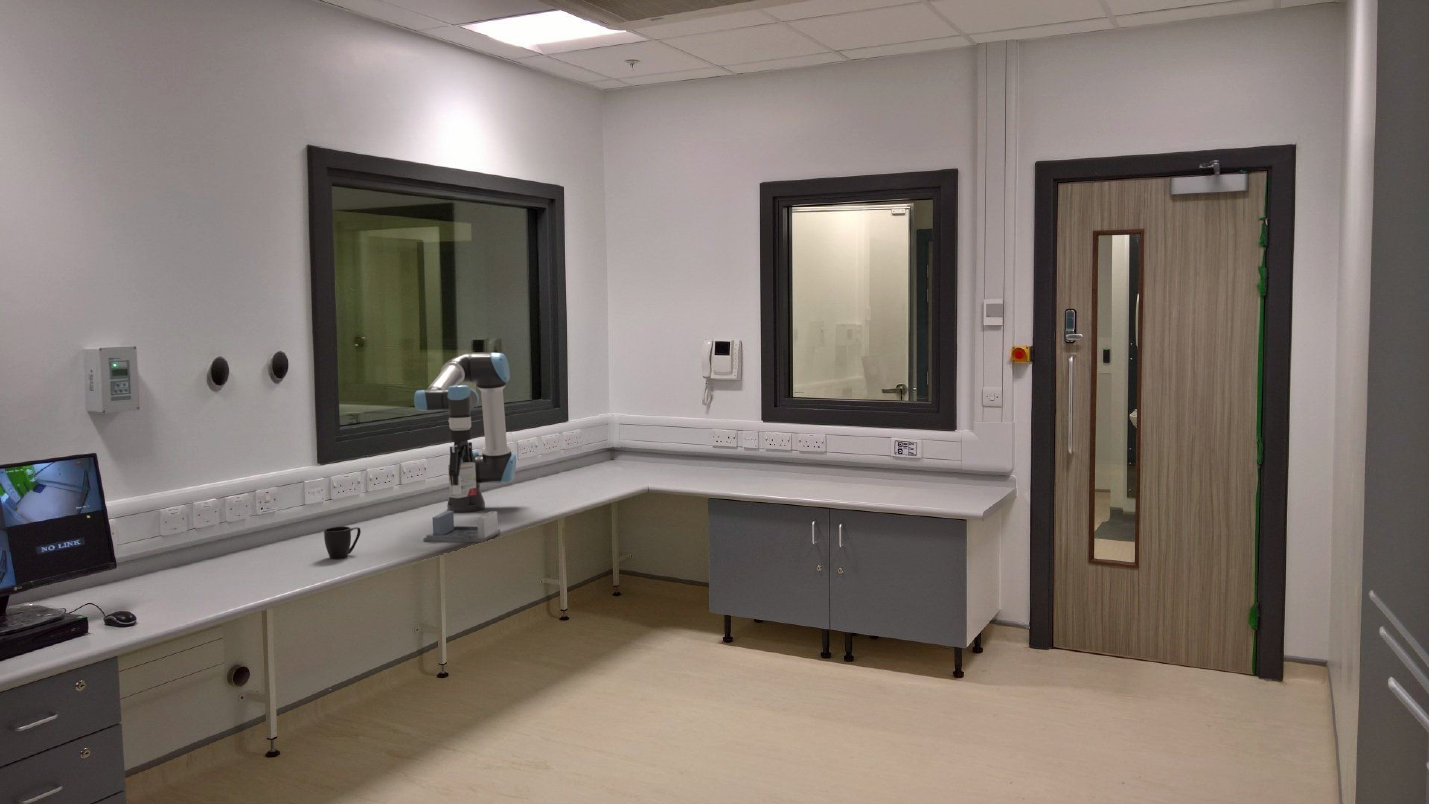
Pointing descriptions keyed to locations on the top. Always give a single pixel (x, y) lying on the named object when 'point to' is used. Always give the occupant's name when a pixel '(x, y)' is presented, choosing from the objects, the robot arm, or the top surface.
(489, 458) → the robot arm
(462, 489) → the ink box
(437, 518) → the block
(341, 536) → the mug
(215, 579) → the top surface
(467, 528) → the base
